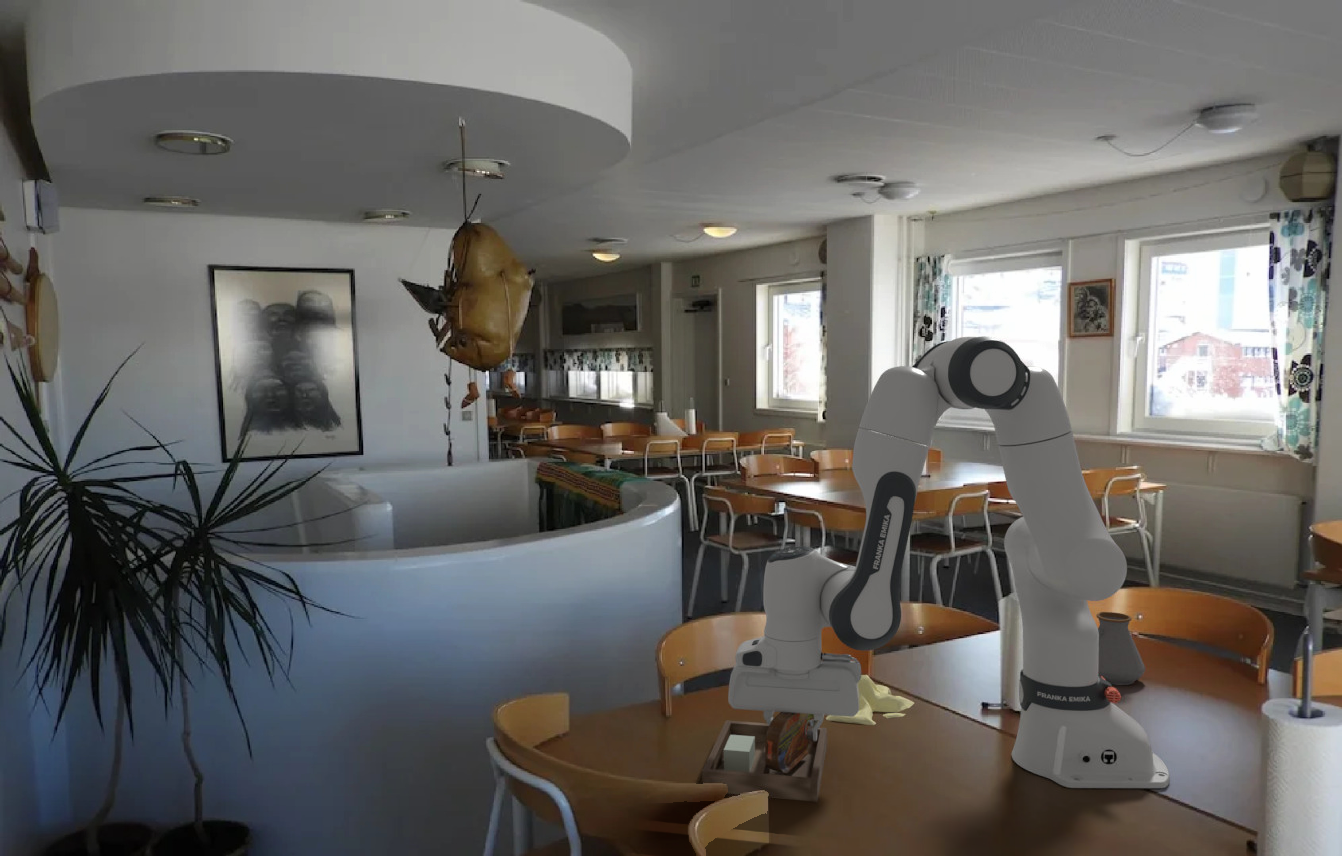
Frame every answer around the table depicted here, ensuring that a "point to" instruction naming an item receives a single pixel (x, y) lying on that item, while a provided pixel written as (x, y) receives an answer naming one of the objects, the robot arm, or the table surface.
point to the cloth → (874, 703)
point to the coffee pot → (1117, 650)
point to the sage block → (739, 753)
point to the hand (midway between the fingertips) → (794, 738)
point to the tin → (787, 740)
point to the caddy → (791, 785)
